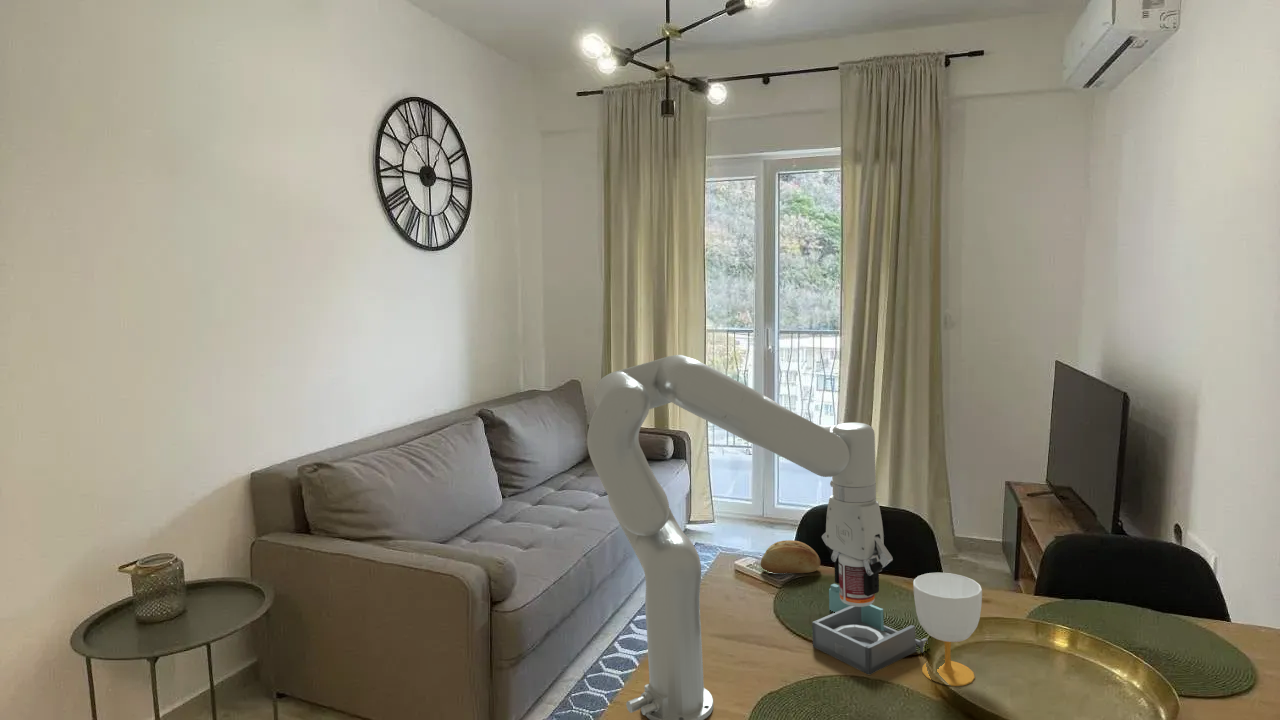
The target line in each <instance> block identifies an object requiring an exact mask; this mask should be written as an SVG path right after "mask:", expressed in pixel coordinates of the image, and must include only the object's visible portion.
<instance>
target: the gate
mask: <svg viewBox="0 0 1280 720" xmlns="http://www.w3.org/2000/svg"><path fill="white" fill-rule="evenodd" d="M828 600H829V601H828V603H829V606H828V607H829V609H828V610H829V611H830V610H831V611H830V612H832V611H833V612H832V613H834V612H837V611H840V610H842V609H844V608H847V607H849V606H850V605H847V604H845V603H843V602H842V601H841V599H840V589H839V584H837V583H832V584H830V588H828ZM861 617H862V622H864V623H866V624H868V625H871V626H873V627H875V628H877V629H880V630H882V631H884V624H885V623H884V608H881V607H879V606H877V605H874V604H873V603H872V604H871V605H868V606H864V607H861ZM884 632H885V631H884Z"/></svg>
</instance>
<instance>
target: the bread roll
mask: <svg viewBox="0 0 1280 720" xmlns="http://www.w3.org/2000/svg"><path fill="white" fill-rule="evenodd" d="M761 567H762V568H763V569H765V570H767V571H769V572H773V573H783V574H784V573H785V574H799V573H800V574H804V573H805V574H807V573H813V572H816V571H817V570H818V569H819V568H820V567H821V558H820V557H819V555H818V553H817V552H816V550H814V549H813V548H812V547H811V546H809V545H808V544H806V543H805V542H802V541H798V540H793V539H792V540H791V539H788V540H787V539H786V540H780V541H777V542H774V543H773V544H771V545H770V546H769V547H768V548H767V549H766V550H765V553H764V554H763V556H762V558H761V560H760V568H761ZM762 568H761V569H762Z"/></svg>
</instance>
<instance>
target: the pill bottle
mask: <svg viewBox="0 0 1280 720" xmlns="http://www.w3.org/2000/svg"><path fill="white" fill-rule="evenodd" d="M870 562H871V565H873V562H872V559H870ZM866 573H867V572H866V569H865V566H864V563H863V560H859V559H856V558H853V557H850V556H847V555H845V554H842V553H840V555H839V584H838V585H839V589H840V599H841V601H842V602H843V603H845V604H847V605H850V606H856V607H864V606H868V605H871V604H872V605H873V604H874V602H875V598H876V595H875V594H876V593H875V594H873V595H870V596H866V595H865V594H864V574H866Z"/></svg>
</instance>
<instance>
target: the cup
mask: <svg viewBox="0 0 1280 720" xmlns="http://www.w3.org/2000/svg"><path fill="white" fill-rule="evenodd" d="M912 584H913V595H914V597H913V598H914V605H915V612H916V616H917V619H918V623H919V624H920V626H921V627H922V628H923V630H924V631H925V632H926V633H927V634H928V635H929V636H930V637H932V638H934V639H936V640H938V641H941V642H943V643H944V646H943V647H944V660H945V663H944V664H943V665H942V666H940V667H939V669H937V672H938V673H939V675H940V676H941V677H942V678H943V679H944V680H945V681H946V682H947V683H948V684H949V685H951V686H950V687H962V686H963V687H964V686H967V685H969V684H972V683H973V682H974V680H975V678H976V677H975V672H974V671H973V670H972V669H970V667H968V666H966V665H965V664H962V663H960V662H958V661H955V660H954V661H953V660H952V658H951V654H952V653H951V651H952V643H958V642H963V641H965V640H967V639H969V638H970V637H971V636H972V634H973V633H974V632H975V631H976V629H977V628H978V625H979V622H980V618H981V612H982V604H983V603H982V602H983V590H982V586H981V585H980V583H978V582H977V581H976V580H975V579H972V578H969V577H967V576H964V575H961V574H956V573H950V572H949V573H948V572H929V573H928V572H927V573H924V574H921V575H917V577H915V578H914V580H913V582H912ZM926 663H927V662H925V663H924V664H923V665H922V667H921V670H922V674H923V675H924V676H925V678H927V679H928V680H930V681H932V680H931V678H930V676H929V674H928V671H927V667H926Z"/></svg>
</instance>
